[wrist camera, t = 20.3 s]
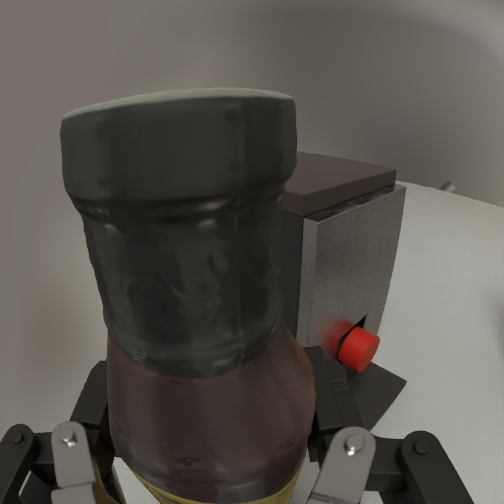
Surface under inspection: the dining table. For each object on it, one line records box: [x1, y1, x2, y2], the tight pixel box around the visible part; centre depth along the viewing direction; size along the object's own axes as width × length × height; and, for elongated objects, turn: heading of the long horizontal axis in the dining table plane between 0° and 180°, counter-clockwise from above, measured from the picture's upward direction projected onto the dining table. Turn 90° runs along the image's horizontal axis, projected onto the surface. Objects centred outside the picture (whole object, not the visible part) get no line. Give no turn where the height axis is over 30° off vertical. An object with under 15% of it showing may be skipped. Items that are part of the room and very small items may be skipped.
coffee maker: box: [280, 151, 407, 432], centre depth 25 cm, size 18×12×20 cm, turn 42°
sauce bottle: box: [60, 88, 316, 504], centre depth 9 cm, size 6×6×20 cm
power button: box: [338, 327, 380, 372], centre depth 23 cm, size 2×3×3 cm, turn 132°
